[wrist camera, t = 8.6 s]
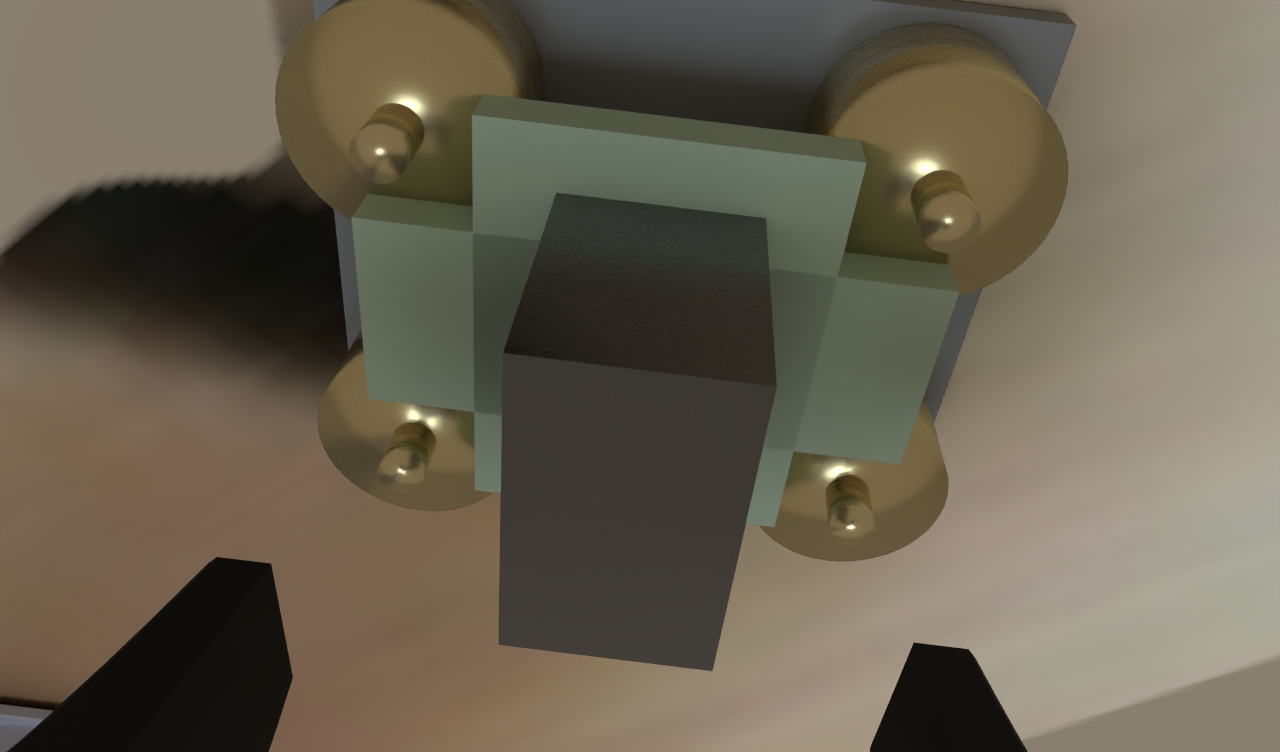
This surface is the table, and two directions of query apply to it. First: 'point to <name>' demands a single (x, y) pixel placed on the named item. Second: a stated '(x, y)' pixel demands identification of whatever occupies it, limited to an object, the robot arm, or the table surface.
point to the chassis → (708, 91)
